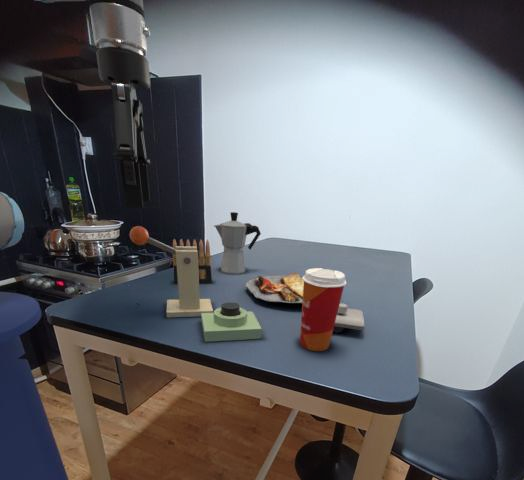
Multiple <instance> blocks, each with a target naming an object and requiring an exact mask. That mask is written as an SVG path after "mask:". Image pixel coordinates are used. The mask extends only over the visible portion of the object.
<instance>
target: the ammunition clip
mask: <svg viewBox="0 0 524 480" xmlns="http://www.w3.org/2000/svg"><path fill="white" fill-rule="evenodd" d="M198 243H199V244H198V245H197V241H196V239H193V241H192V247H197V248H198V271H199V284H212V283H213V278H212V277H213V276H212V256H211V248H210V247H211V246H210V242H209V239H206V241H205V247H204V242H203V240H202V239H199V242H198ZM184 245H185V244H184V241H183V239H182V238H181V239H180V240H179V246H184ZM176 246H178V245H177V241H176V238H174V239H173V240H172V248H174V249H176ZM185 246H191V242H190V239H186V245H185ZM204 248H205V250H204ZM172 268H173V284H177V285H178V277H177V263H176V255H174V254H172Z"/></svg>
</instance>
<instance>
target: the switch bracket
mask: <svg viewBox="0 0 524 480" xmlns="http://www.w3.org/2000/svg"><path fill="white" fill-rule="evenodd" d="M182 249H185V250H182ZM176 263H177V277H178V284H177V290H178V299H166V318H189V317H191V318H193V317H195V318H196V317H201V313H214V309H213V305H212V301H211V298H201V297H200V283H199V271H198V264H199V250H198V246H197V247H193V245H192V246H191V245H190V246H186V245H185V246H180V245H177V246H176Z"/></svg>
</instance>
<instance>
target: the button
mask: <svg viewBox="0 0 524 480" xmlns="http://www.w3.org/2000/svg"><path fill="white" fill-rule="evenodd" d="M220 308H221V314H222V315H224V316H229V317H230V316H238V315H239V314H240V308H241V307H240V304H239V303H236V302H224V303H222V304H221V306H220Z"/></svg>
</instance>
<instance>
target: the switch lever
mask: <svg viewBox="0 0 524 480" xmlns="http://www.w3.org/2000/svg"><path fill="white" fill-rule="evenodd" d="M129 239H130V240H131V242H132V243H133V244H135V245H137V246H144V245H146V244H150V245H152V246H155V248H159V249H161V250H163V251H165V252H167V253H170V254H172V255H173V254H174V255H176V249H174V248H173V246H170V245H167V244H166V243H164V242H161V241H159V240H157V239H154V238H153V237H151V236H150V234H149V231H148V230H147V229H146V228H145V227H143V226H141V225H136V226H133V227H132V228H131V229H130V231H129ZM182 250H185V249H182Z"/></svg>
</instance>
